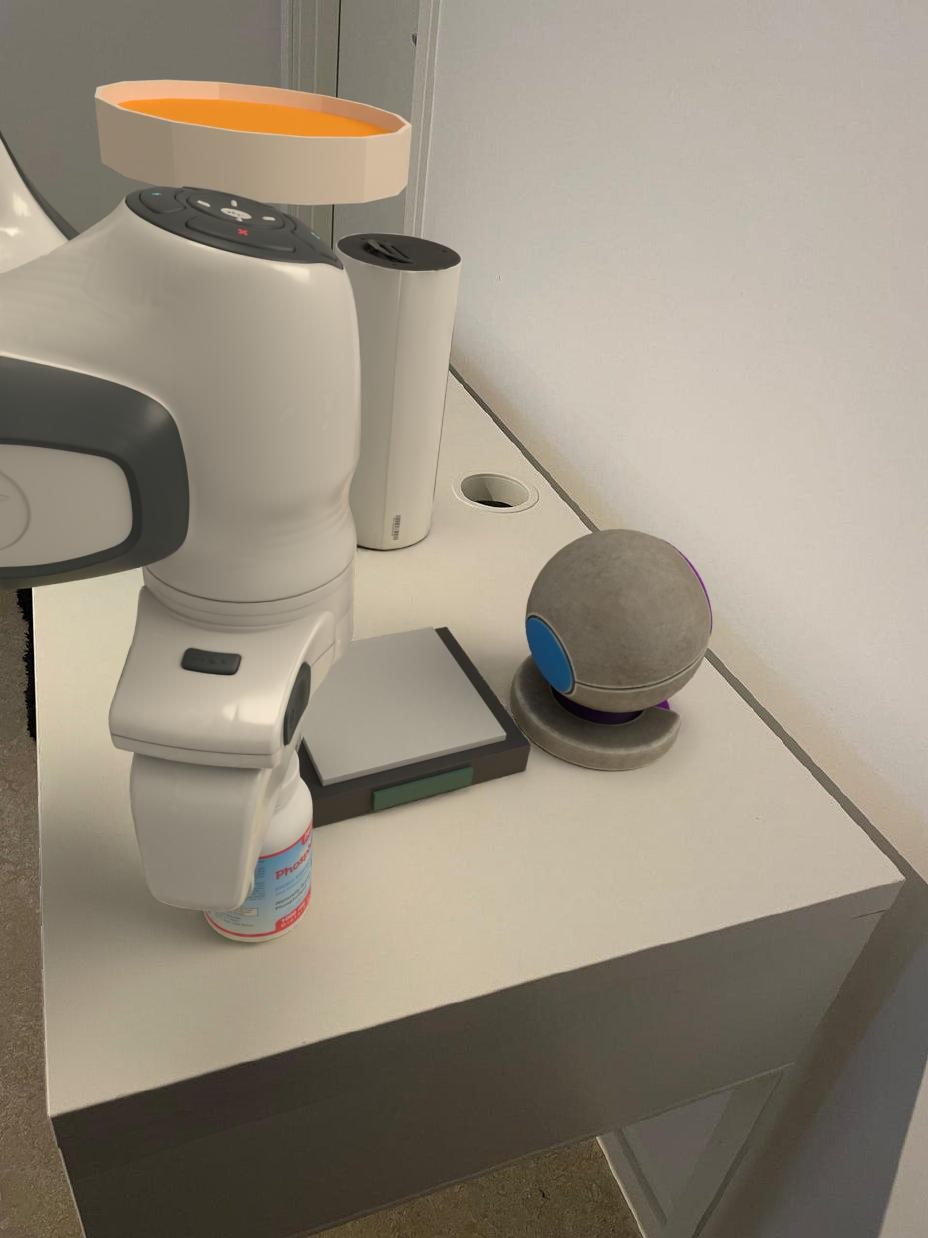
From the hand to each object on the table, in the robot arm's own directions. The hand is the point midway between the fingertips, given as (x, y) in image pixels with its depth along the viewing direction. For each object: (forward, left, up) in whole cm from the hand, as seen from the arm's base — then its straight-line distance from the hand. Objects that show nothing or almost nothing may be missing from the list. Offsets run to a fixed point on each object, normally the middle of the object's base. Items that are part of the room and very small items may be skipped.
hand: (263, 810), depth 48 cm
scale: (+12, +11, -8) cm, 18 cm away
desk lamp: (+18, +65, -8) cm, 68 cm away
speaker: (+22, +38, -8) cm, 44 cm away
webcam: (+28, +8, -8) cm, 30 cm away
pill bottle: (0, 0, -8) cm, 8 cm away
